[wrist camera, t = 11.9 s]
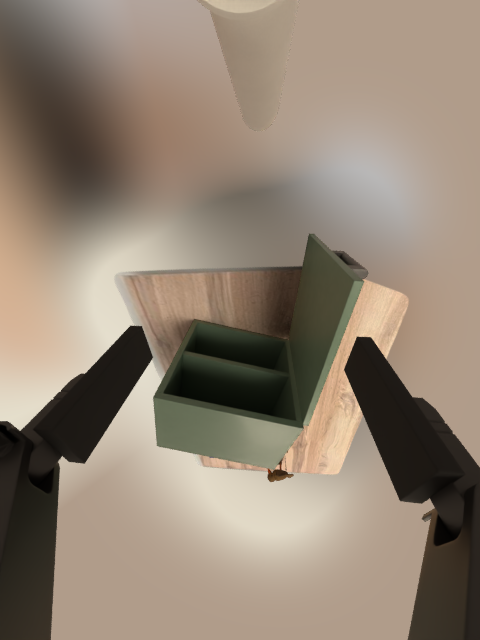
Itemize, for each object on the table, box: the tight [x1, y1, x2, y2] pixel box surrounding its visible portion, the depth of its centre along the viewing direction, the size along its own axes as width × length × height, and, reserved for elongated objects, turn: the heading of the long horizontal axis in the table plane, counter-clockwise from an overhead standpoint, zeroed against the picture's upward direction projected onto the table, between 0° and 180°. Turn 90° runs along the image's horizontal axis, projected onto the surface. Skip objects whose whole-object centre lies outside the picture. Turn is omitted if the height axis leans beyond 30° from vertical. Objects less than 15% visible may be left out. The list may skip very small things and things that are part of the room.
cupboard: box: [153, 319, 304, 470], centre depth 50 cm, size 18×26×24 cm
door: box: [288, 234, 368, 426], centre depth 37 cm, size 7×26×24 cm, turn 179°
